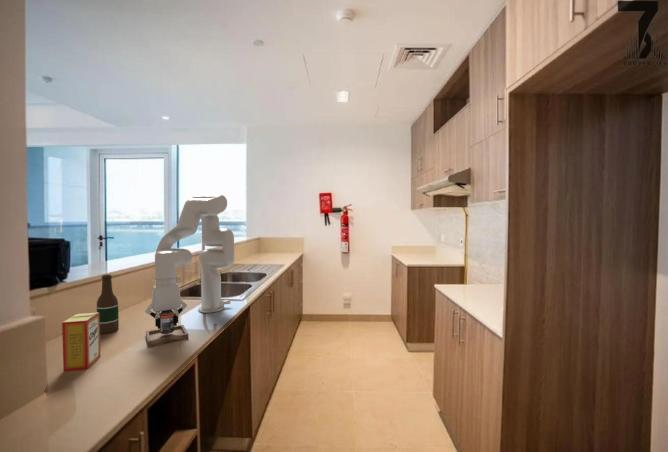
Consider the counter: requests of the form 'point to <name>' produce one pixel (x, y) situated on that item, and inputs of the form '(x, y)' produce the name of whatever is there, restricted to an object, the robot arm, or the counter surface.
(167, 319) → the supplement bottle
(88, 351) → the baking soda box
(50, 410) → the counter surface
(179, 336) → the walnut tray
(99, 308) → the beer bottle
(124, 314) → the counter surface
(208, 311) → the robot arm
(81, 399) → the counter surface
